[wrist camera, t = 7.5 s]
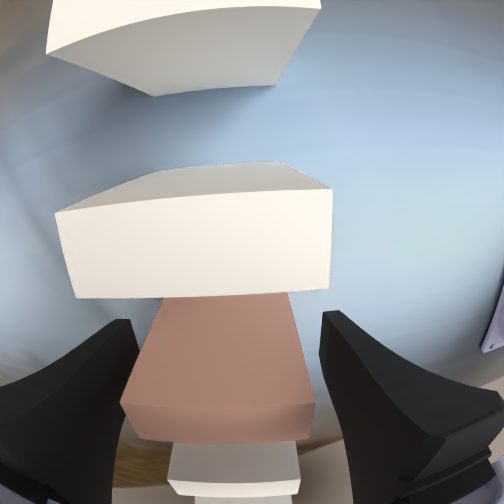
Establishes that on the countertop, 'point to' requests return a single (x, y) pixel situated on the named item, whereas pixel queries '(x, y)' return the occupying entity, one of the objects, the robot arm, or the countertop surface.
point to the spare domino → (221, 373)
